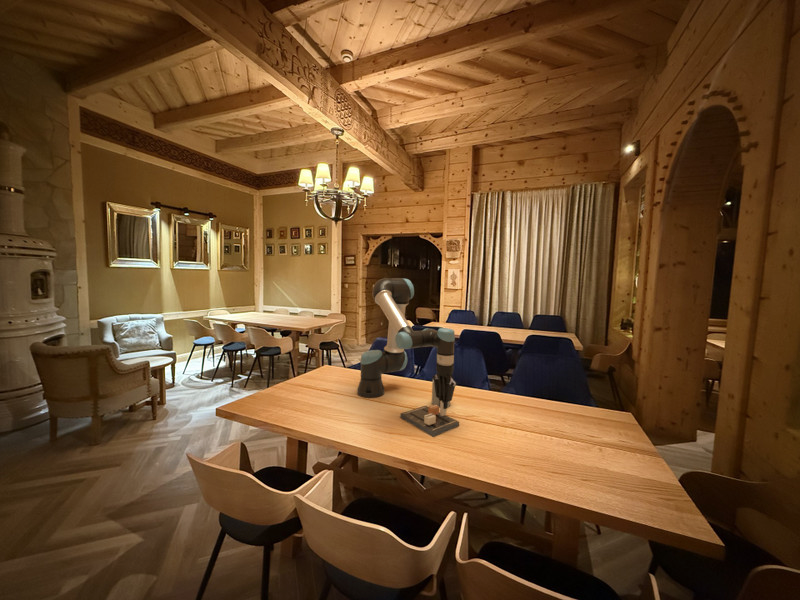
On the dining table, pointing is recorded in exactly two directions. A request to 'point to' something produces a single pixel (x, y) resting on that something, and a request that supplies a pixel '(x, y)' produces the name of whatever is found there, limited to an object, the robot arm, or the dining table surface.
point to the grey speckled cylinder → (434, 399)
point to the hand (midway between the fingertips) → (443, 414)
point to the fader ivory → (430, 419)
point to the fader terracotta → (433, 409)
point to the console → (434, 429)
